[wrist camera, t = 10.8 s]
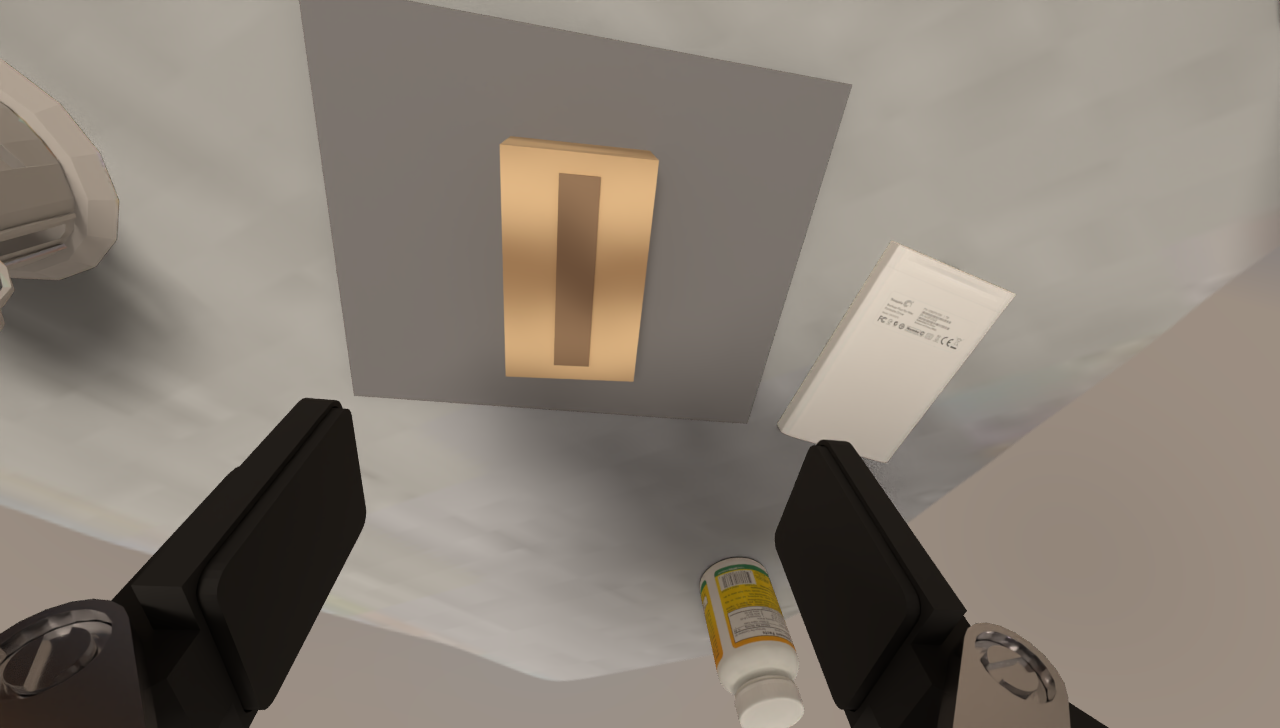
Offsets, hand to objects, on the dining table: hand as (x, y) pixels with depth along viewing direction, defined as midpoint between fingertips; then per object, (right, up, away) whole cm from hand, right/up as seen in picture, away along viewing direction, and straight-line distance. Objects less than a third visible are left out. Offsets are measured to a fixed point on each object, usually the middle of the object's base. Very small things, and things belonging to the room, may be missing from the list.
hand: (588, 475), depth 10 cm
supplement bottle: (+8, -14, +28) cm, 32 cm away
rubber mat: (-2, +8, +14) cm, 17 cm away
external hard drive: (+16, +3, +20) cm, 26 cm away
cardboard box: (-2, +8, +14) cm, 16 cm away
